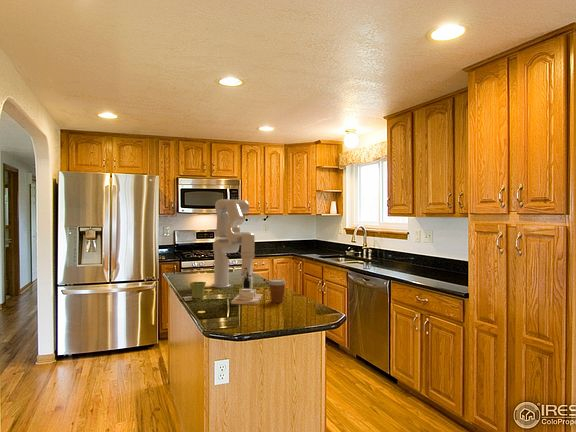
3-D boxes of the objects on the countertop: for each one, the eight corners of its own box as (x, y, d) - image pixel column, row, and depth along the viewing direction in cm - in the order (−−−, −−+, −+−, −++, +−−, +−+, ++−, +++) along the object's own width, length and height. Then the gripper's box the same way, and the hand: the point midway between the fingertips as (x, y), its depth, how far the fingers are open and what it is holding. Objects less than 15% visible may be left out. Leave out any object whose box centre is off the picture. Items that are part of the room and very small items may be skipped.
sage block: (244, 287, 233) (244, 276, 233) (252, 287, 232) (252, 277, 232) (242, 288, 228) (242, 278, 228) (251, 289, 227) (251, 278, 227)
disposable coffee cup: (265, 300, 229) (265, 279, 229) (280, 299, 234) (281, 278, 234) (273, 304, 221) (273, 282, 221) (288, 302, 225) (288, 280, 225)
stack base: (239, 296, 241) (239, 287, 241) (262, 296, 239) (262, 287, 239) (231, 303, 221) (231, 293, 221) (256, 304, 219) (256, 294, 219)
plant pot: (186, 298, 233) (186, 283, 233) (195, 295, 242) (195, 281, 242) (200, 300, 230) (200, 284, 230) (209, 296, 239) (209, 282, 239)
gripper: (244, 253, 239) (244, 284, 239) (237, 256, 222) (237, 289, 222) (257, 253, 238) (256, 284, 238) (251, 256, 221) (251, 290, 221)
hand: (247, 286), depth 230 cm, fingers closed on sage block, 4 cm apart
